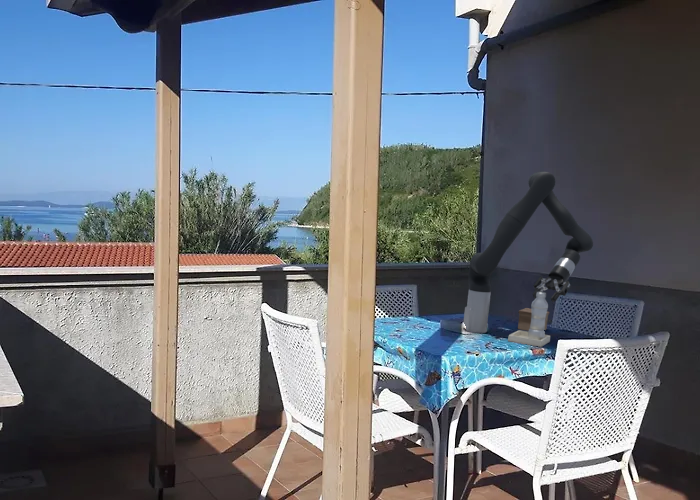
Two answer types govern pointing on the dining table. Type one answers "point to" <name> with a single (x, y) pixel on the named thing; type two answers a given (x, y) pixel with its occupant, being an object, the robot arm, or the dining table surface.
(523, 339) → the tray
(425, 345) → the dining table surface
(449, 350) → the dining table surface
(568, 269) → the robot arm
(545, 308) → the plastic bottle
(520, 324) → the lidded box
